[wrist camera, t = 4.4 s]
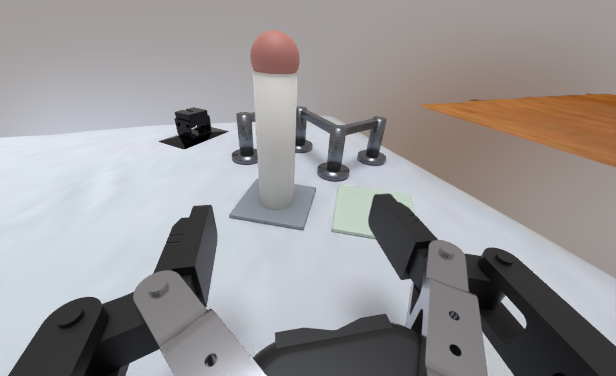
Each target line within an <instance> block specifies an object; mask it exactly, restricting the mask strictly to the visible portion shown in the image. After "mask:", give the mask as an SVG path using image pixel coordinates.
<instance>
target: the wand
mask: <svg viewBox="0 0 616 376" xmlns="http://www.w3.org/2000/svg"><path fill="white" fill-rule="evenodd" d="M251 63H252V67H253V84H254V103H255V121H256V138H257V156H258V173H259V191H260V203H261V204H262V205H263V206H264V207H266V208H268V209H272V210H281V209H285V208H287V207H289V206H291V205H292V203H293V200H294V170H295V139H296V108H297V77H298V75H297V73H298V72H297V70H298V67H299V52H298V49H297V46H296V45H295V43H294V41H293V40H292V39H291V38H290V37H289V36H288V35H286V34H285V33H283V32H280V31H275V30H272V31H267V32H264V33H262V34H261V35H259V36H258V37H257V39H256V40H255V42H254V43H253V46H252V49H251Z"/></svg>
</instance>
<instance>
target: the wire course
mask: <svg viewBox="0 0 616 376" xmlns="http://www.w3.org/2000/svg"><path fill="white" fill-rule="evenodd" d="M236 115H237V126H238V136H239V146H240V149H239V150H236V151H234V152H233V153H232V160H233V161H234V162H235V163H238V164H244V165H248V164H254V163H257V162H258V156H257V149H253V134H252V122H256V121H255V113H246V112H245V113H244V112H243V113H237V114H236ZM386 120H387V119H386V118H384V117H378V116H376V117H373V119H370V120H365V121H361V122H356V123H352V124H347V125H342V126H341V125H336V124H334V123H332V122H330V121H328V120H326V119H324V118H322V117H320V116H318V115H316V114H314V113H312V112H310V111H308V110H307V108H306V107H297V108H296V139H295V152H297V153H304V152H309V151H311V150H312V143H311V142H310V141H307V140H305V139H306V121H309V122H311V123H313V124H314V125H316V126H318V127H320V128H321V129H323V130H325V131H327V132H328V133H330V140H329V150H328V159H327V163H323V164H320V165H319V166H318V172H317V173H318V175H319V176H320V177H321V178H323V179H325V180H329V181H342V180H345V179H347V178H348V176H349V169H348V168H347V167H346V166H345V165H342V157H343V150H344V143H345V136H346V135H349V134H353V133H357V132H361V131H364V130H368V129H371V130H370V136H369V140H368V145H367V150H363V151H360V152H359V153H358V157H357V158H358V160H359V161H360V162H362V163H364V164H368V165H375V166H377V165H382V164H384V163H385V160H386V156H385V155H384V154H382V153H380V152H379V151H380V147H381V142H382V138H383V134H384V129H385V125H386Z"/></svg>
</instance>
